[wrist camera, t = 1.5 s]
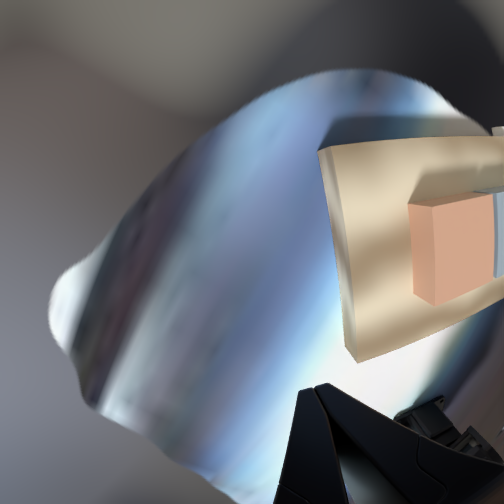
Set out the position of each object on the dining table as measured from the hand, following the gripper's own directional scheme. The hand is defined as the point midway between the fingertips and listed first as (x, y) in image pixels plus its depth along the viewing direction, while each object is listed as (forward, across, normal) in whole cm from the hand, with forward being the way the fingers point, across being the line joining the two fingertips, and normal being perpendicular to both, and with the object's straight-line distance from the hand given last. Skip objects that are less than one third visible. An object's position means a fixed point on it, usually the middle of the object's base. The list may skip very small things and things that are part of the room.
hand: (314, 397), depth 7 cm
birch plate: (+12, -14, 0) cm, 18 cm away
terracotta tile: (+10, -12, 0) cm, 16 cm away
